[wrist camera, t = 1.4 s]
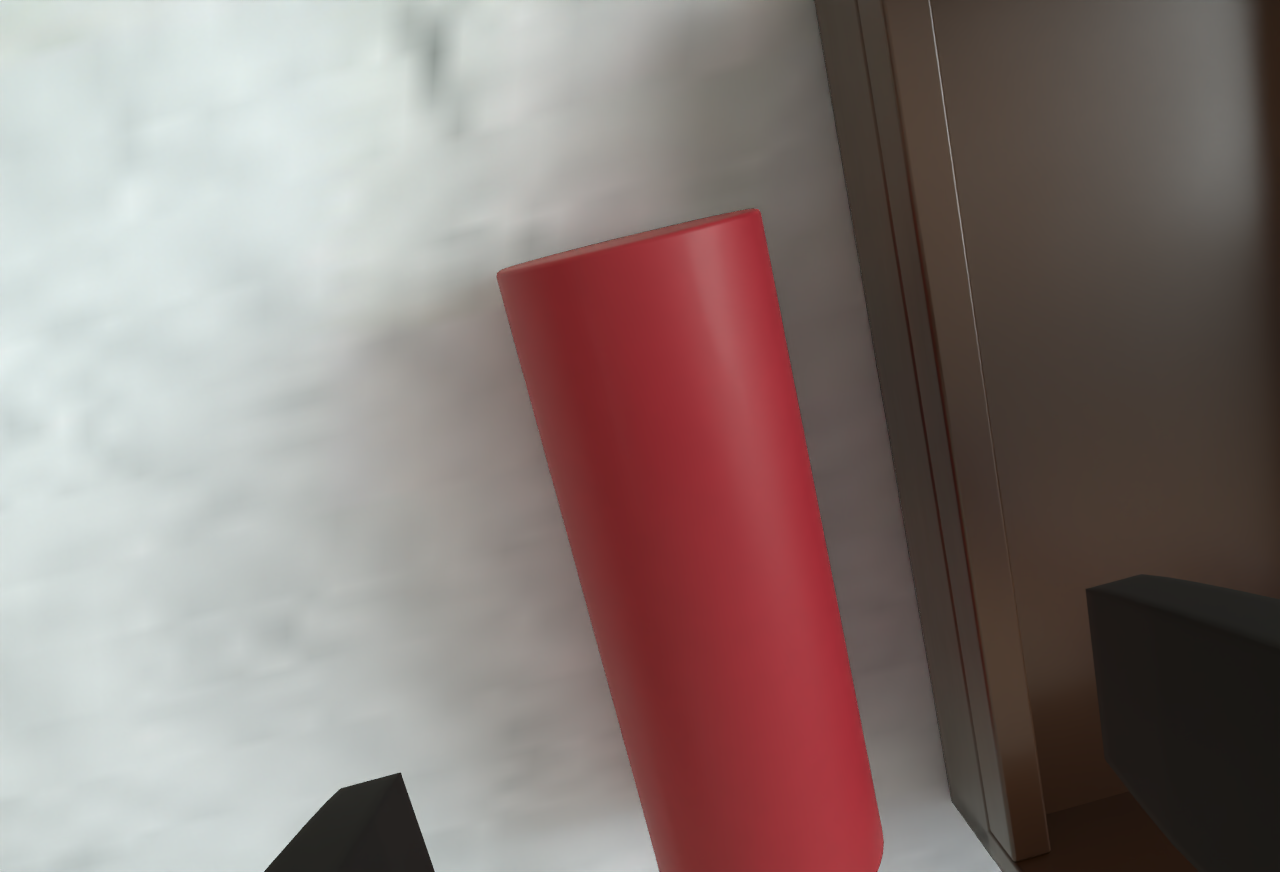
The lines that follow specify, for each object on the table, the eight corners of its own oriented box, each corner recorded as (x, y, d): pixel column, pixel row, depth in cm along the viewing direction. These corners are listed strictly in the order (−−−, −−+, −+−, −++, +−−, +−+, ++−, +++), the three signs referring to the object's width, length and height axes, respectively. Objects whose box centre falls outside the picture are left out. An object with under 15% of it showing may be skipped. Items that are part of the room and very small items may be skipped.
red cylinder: (748, 753, 20) (926, 815, 17) (615, 880, 17) (799, 983, 14) (626, 234, 17) (812, 193, 14) (442, 283, 14) (626, 245, 11)
